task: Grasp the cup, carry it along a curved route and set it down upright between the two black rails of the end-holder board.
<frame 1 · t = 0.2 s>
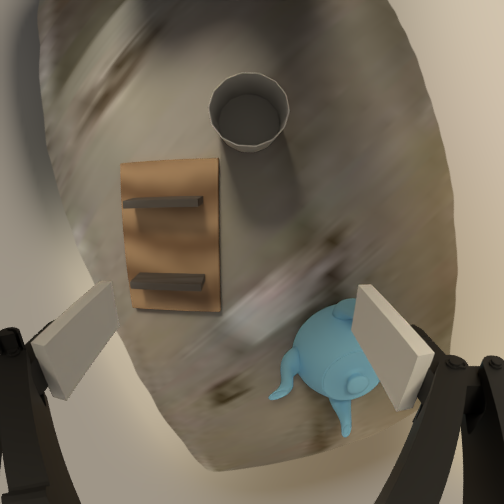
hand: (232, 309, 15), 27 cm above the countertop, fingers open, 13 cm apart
cup: (248, 123, 37), on the countertop
teapot: (331, 338, 47), on the countertop
end holder: (171, 237, 41), on the countertop
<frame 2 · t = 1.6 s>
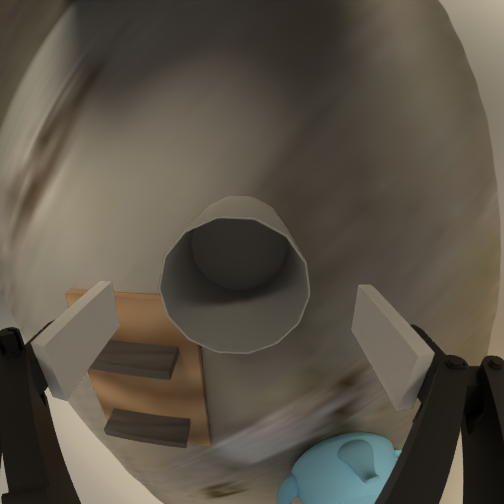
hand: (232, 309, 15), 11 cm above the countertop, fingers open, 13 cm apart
cup: (239, 243, 26), on the countertop
teapot: (334, 455, 35), on the countertop
end holder: (144, 378, 30), on the countertop
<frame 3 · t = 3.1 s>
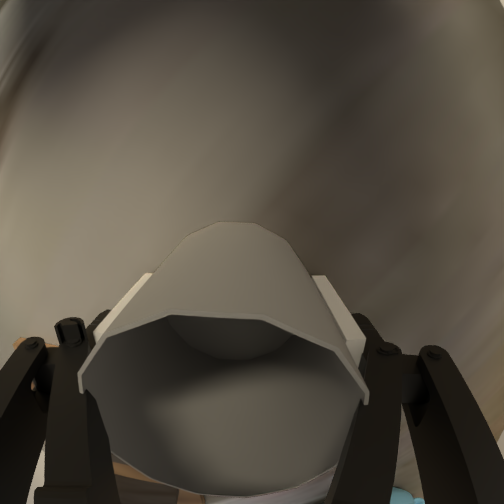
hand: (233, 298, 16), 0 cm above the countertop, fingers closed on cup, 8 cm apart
cup: (234, 293, 17), on the countertop, touching gripper
end holder: (119, 443, 21), on the countertop
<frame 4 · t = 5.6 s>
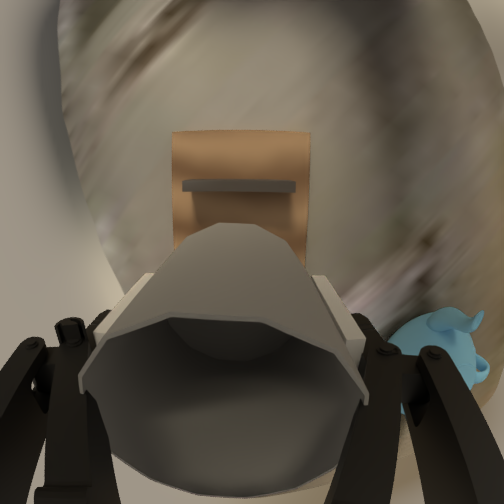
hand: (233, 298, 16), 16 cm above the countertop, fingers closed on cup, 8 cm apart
cup: (234, 294, 17), point 16 cm above the countertop, touching gripper
teapot: (410, 351, 37), on the countertop
end holder: (239, 234, 32), on the countertop
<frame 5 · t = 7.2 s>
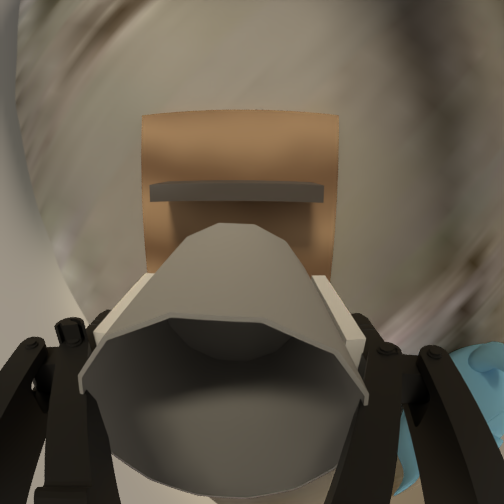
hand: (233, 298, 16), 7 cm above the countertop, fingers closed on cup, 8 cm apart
cup: (234, 294, 17), point 6 cm above the countertop, touching gripper
teapot: (441, 387, 28), on the countertop
end holder: (238, 258, 23), on the countertop
when the fingers open (3 cm above the countertop, at t = 8.4 s): cup drops 2 cm, resting on end holder.
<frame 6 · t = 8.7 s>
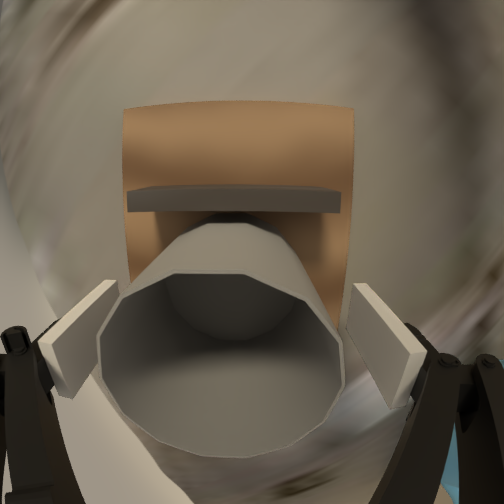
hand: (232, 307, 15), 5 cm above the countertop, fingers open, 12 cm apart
cup: (232, 278, 18), point 1 cm above the countertop, touching end holder
teapot: (453, 405, 25), on the countertop
end holder: (236, 275, 19), on the countertop
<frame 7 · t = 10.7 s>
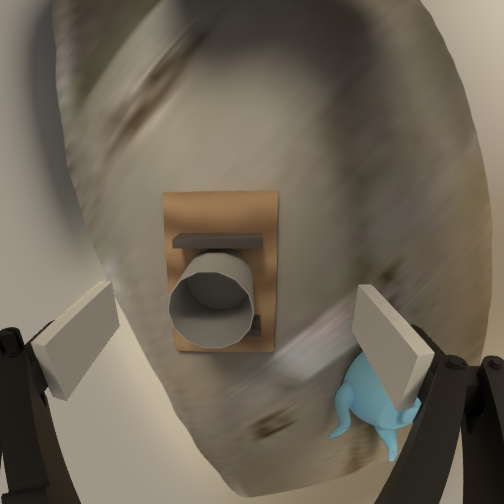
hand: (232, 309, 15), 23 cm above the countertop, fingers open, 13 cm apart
cup: (219, 277, 37), point 1 cm above the countertop, touching end holder
teapot: (377, 369, 43), on the countertop
end holder: (221, 276, 38), on the countertop
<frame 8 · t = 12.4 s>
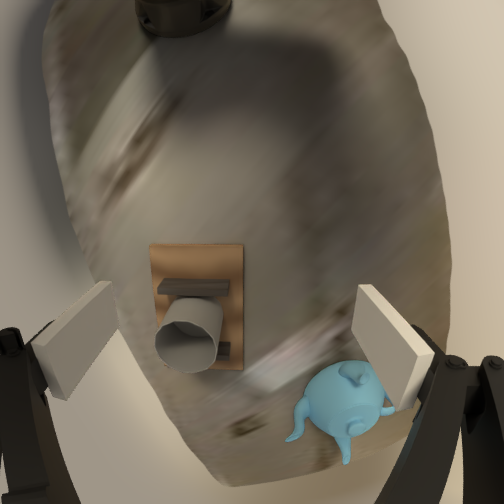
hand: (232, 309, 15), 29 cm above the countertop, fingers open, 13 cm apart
cup: (197, 312, 45), point 1 cm above the countertop, touching end holder
teapot: (335, 385, 52), on the countertop
end holder: (199, 310, 46), on the countertop
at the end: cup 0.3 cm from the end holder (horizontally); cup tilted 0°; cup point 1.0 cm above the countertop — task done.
